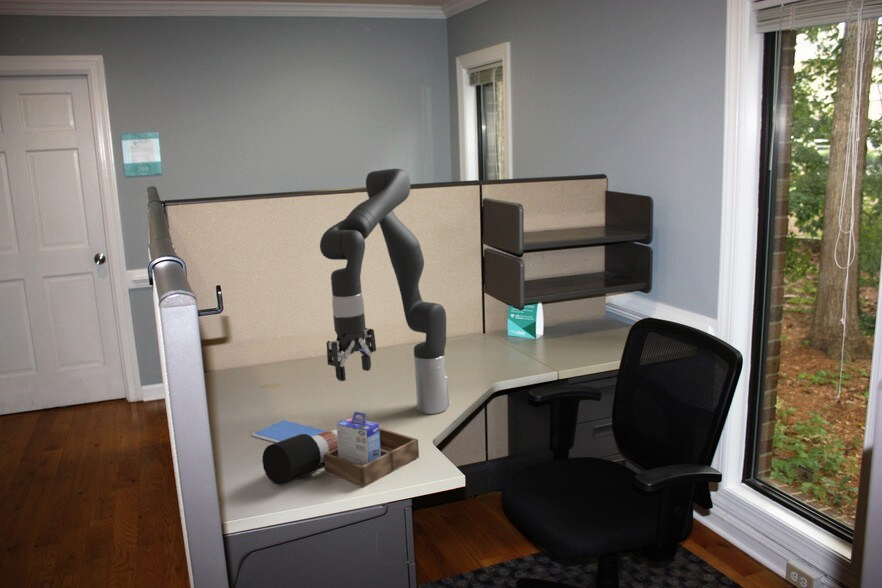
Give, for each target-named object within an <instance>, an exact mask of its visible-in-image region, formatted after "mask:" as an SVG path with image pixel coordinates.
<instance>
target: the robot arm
mask: <svg viewBox="0 0 882 588" xmlns="http://www.w3.org/2000/svg"><path fill="white" fill-rule="evenodd" d="M365 187H366V189H365V190H366V194H367V197H368V199H365V200H364V201H362V202H361V203H359V204H358V205H356V206H355V207H354V208H353V209H352V210H351V211H350V212H349V214H348V215H347V216H346V217H345V219H343V220H341V221H338V222H337V223H335V224H333V225H332V226H331V227H329V228H328V229H326V231H325V232H324V233H323V235H322V237H321V238H320V242H319V249H320V252H321V255H322V256H324V257H325V258H326V259H328V260H333V261H334V260H336V261H337V260H339V261H340V260H341V261H342V260H344V261H346V266H345V267H343V268H338V269H335V270H333V271H332V272H331V274H330V283H331V285H330V286H331V293H332V300H331V301H332V303H331V304H332V315H333V327H334V329H333V330H334V332H335V333H336V340H328V341H326V356H327V357H326V358H327V365H328V366H333V367H334V369H335V370H334V371H335V378H336V379H337V381H339V382H345V381H346V369H345V363H346V360H347V359H348V358H349V356H350V355H351V354H354V353H355V352H359V353H360V354H361V366H362V367H361V369H362V371H366V372H369V371H371V368H372V361H371V359H372V358H371V355H372V353H374V352H376V351H377V344H376V337H375V330H374V329H373V328H369V327H366V318H365V307H364V306H365V305H364V298H363V293H362V282H361V281H362V280H361V274H362V266H363V260H364V256H365V252H366V251H365V249H366V242H365V240H366V239H367V238H368V237H369V236H370V234H371V233H372V232H373V231H374V230H375V228H376V227H377V226H378V224H379V226H380V229H381V232H382V236H383V238H384V241H385V245H386V248H387V253H388V256H389V259H390V263H391V266H392V269H393V272H394V274H395V278H396V282H397V285H398V286H397V287H398V289H399V293H400V297H401V303H402V307H403V312H404V317H405V321H406V324H407V326H408V328H409V329H410V330H411V331H413V332H417V333H421V334H425V341H423V342H419V343H417V344H415V345H414V347H413V357H414V358H413V360H414V376H415V377H414V378H415V391H416V392H415V394H416V395H415V396H416V410H417V412H419V413H421V414H426V415H435V414H440V413H443V412H445V411H447V409H448V407H450V397H449V396H450V395H449V394H450V393H449V378H448V376H447V374H446V354H445V352H446V351H445V350H446V344H447V314H446V310H445V308H444V306H443V305H442V304H440V303H435V302H428V301H424V300H423V298H422V296H421V293H420V287H419V283H420V280H421V277H422V274H423V270H424V267H425V259H424V254H423V252H422V251H423V250H422V248H421V243H420V241H419V239H418V238H417V237H416V235H415V234H414V233H413V232H412V231H411V230H410V228H408V227H407V226H406V225H405V224H404V223H403V222H402V221H401V220H400V219H399V218H398V217H397V215H396V214H395V211H394V210H395V209H396V208H397V207H399V206H400V205H401V204H402V203H404V202H405V201H406V200H407V199H408V198H409V196H410V193H411V180H410V176H409V175H408V173H407V172H406V170H404V169H401V168H389V169H387V168H386V169H380V170H379V169H378V170H373V171H371V172H368V173H367V176H366V178H365Z"/></svg>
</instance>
